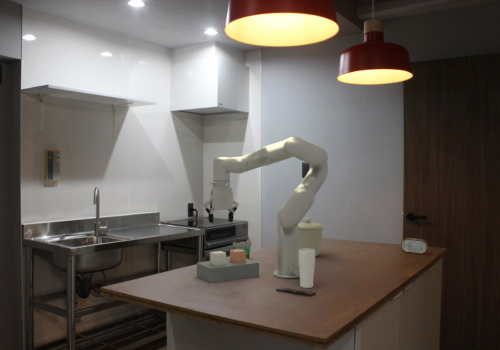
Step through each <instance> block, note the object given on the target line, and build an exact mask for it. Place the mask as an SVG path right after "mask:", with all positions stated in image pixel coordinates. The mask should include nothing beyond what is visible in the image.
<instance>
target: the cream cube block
mask: <svg viewBox="0 0 500 350" xmlns="http://www.w3.org/2000/svg"><path fill="white" fill-rule="evenodd" d="M226 259H227V252H225V251H222V250H217V251H210V252H209V261H210V264H212V265H214V266H218V265H226Z"/></svg>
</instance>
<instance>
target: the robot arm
mask: <svg viewBox="0 0 500 350" xmlns="http://www.w3.org/2000/svg"><path fill="white" fill-rule="evenodd" d="M291 158H296V159H298V160H299V161H302V162H305V163H306V164H309V168H308V169H309V170H308V172H307V173H306V175H305V176H304V178H303V179H302V181H301V182H300V183H299V184H298V185H297V187H296V188H295V189H294V190H293V191H292V194H291V196H290V198H289V199H288V200H287V201H286V203H284V205H282V206H280V208H279V209H278V211H277V213H276V221H277V222H276V225H277V227H276V229H277V231H276V233H277V235H276V236H277V237H276V255H277V256H276V270H275V271H273V276H274V277H275V278H276V277H277V278H282V279H297V278H300V273H299V256H298V223H300V222H301V221H302V220H303V218H305V216H306V215H307V213H308V212H309V210H310V209H311V207H312V206H313V204H314V202H315V199H316V198H315V197H316V195H317V194H318V192H319V191H320V189H321V188H322V186H323V185H324V183H325V182H326V180H327V179H328V176H329V175H328V174H329V163H328V159H329V154H328V152H327V150H325V149H324V148H323V147H321V146H319V145H316V144H314V143H311V142H309V141H307V140H305V139H302V138H301V137H298V136H290V137H288V138H287V139H284V140H281V141H278V142H275V143H274V142H273V143H272V144H268V145H265V146H263V147H261V148H259V149H258V150H256V151H254V152H251V153H247V154H245V155H242V156H233V157H226V156H218V157H217V156H216V157H214V158H213V170H212V171H213V172H212V173H213V177H212V178H213V179H212V181H210V185H211V186H212V187H211V191H210V195H209V200H208V201H206V202H204V203H202V206H203V208H204V211H205V212H206V213H207V214H208V222H209V223H210V224H214V214H213V213H214V212H215V211H219V210H220V211H222V210H227V211H228V216H227V217H228V218H227V220H228V222H230V223H233V220H234V214H235V212H236V211H237V210H238V207H239V204H240V203H238V202H237V201H235V200H234V193H233V189H232V187H230V185H231V173H232V174H239V175H240V174H243V173H247V172H249V171H251V170H252V171H253V170H255V169H258V168H261V167H267V166H270V165H273V164H276V163H280V162H283V161H285V160H288V159H291ZM208 206H209V207H208Z"/></svg>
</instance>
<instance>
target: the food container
mask: <svg viewBox="0 0 500 350" xmlns="http://www.w3.org/2000/svg"><path fill="white" fill-rule="evenodd" d="M251 246H252V241H251V240H250V239H246V241H239V242H235V241H233V242H232V248H233V250H236V249H241V250H245V251H246V258H247V259H250V256H251V255H250V254H251Z"/></svg>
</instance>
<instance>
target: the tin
mask: <svg viewBox="0 0 500 350" xmlns="http://www.w3.org/2000/svg"><path fill="white" fill-rule="evenodd" d="M429 246H430V245H429V243H428V241H426V240H425V239H424V238H413V237H406V238H403V240H402V241H401V243H400V247H401V249H402V251H403V252H405V253H407V252H411V253H410V254H416V253H420V254H419V255H423V254H425V253H427V252H428V251H429V248H430V247H429Z"/></svg>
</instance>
